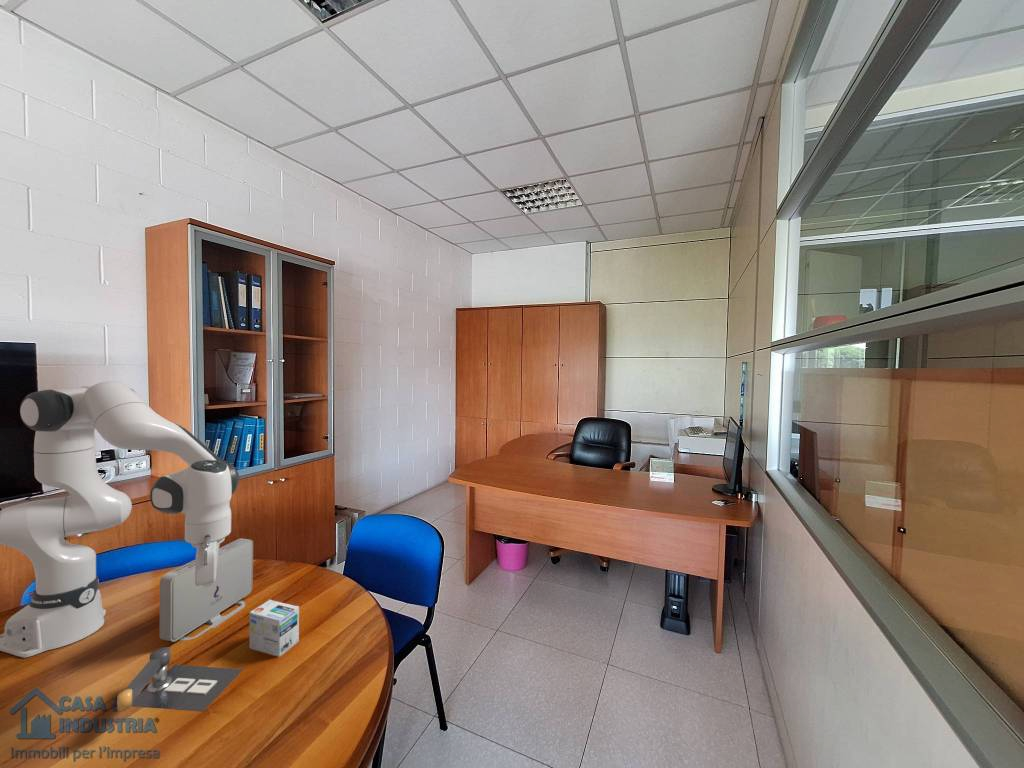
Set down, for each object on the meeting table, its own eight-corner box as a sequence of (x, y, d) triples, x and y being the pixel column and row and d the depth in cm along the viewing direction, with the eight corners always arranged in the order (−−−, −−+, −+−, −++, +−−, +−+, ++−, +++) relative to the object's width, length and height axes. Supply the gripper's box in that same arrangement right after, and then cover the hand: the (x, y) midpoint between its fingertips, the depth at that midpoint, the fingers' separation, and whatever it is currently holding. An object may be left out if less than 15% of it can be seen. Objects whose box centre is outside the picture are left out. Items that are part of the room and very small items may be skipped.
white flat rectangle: (186, 692, 90) (186, 691, 90) (199, 680, 93) (199, 679, 93) (204, 694, 90) (204, 692, 90) (217, 681, 93) (217, 680, 93)
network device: (177, 652, 103) (177, 579, 102) (151, 646, 105) (151, 574, 104) (258, 598, 128) (258, 538, 127) (236, 594, 130) (236, 535, 129)
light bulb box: (299, 642, 108) (300, 605, 108) (279, 660, 101) (279, 620, 101) (269, 634, 111) (270, 598, 110) (247, 650, 104) (248, 612, 104)
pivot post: (141, 693, 90) (141, 671, 90) (159, 678, 94) (159, 657, 94) (159, 695, 90) (159, 673, 89) (177, 680, 94) (177, 658, 94)
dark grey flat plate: (125, 708, 86) (125, 705, 86) (174, 666, 98) (174, 664, 98) (203, 713, 85) (203, 711, 85) (243, 671, 97) (243, 669, 97)
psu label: (163, 691, 90) (163, 689, 90) (177, 679, 94) (177, 677, 94) (182, 692, 90) (182, 691, 90) (195, 680, 93) (195, 678, 93)
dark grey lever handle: (155, 660, 93) (155, 648, 93) (173, 657, 94) (173, 645, 94) (110, 713, 79) (110, 699, 79) (131, 710, 80) (131, 695, 80)
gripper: (223, 543, 86) (222, 602, 87) (226, 511, 103) (225, 561, 104) (186, 550, 83) (186, 611, 83) (195, 516, 99) (195, 568, 100)
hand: (207, 583), depth 94 cm, fingers closed
